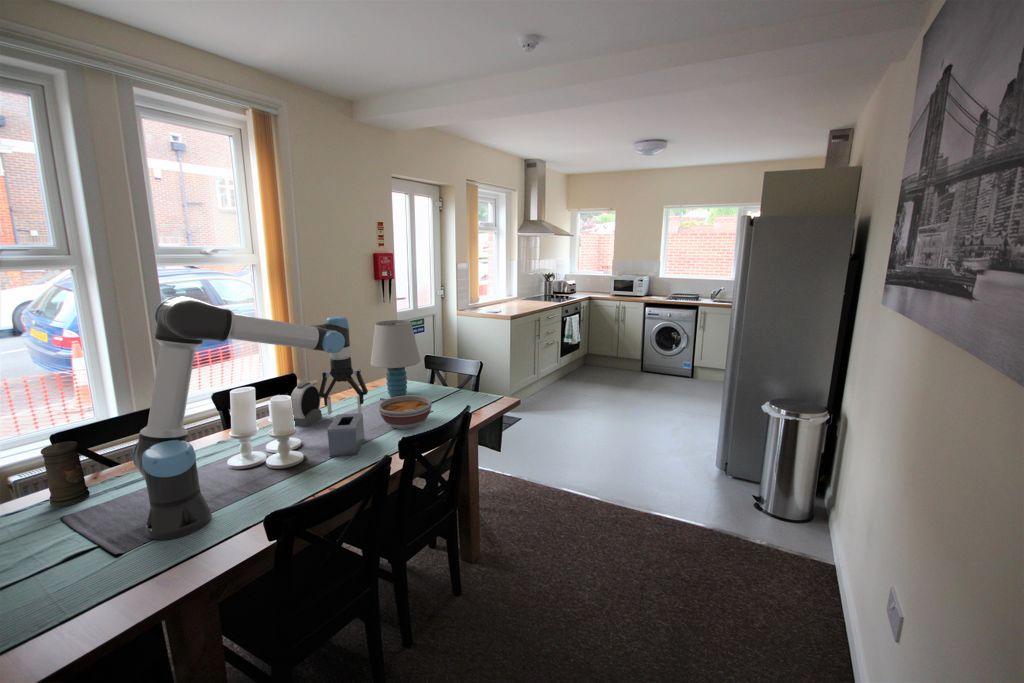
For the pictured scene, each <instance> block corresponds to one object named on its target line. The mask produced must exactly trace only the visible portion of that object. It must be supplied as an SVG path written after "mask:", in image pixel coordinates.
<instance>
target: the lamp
mask: <svg viewBox="0 0 1024 683" xmlns="http://www.w3.org/2000/svg"><path fill="white" fill-rule="evenodd" d="M374 324H375V326H374V333H373V340H372V341H373V342H372V348H371V349H372V350H371V358H370V365H371V366H372V367H374V368H380V369H386V370H387V372H386V377H385V378H386V386H387V388H386V389H387V393H388V395H389V397H390V398H393V397H398V396H407V392H408V390H407V388H408V385H407V384H408V381H407V380H408V376H407V371H406V368H407V367H412V366H416V365H418V364H420V362H421V357H420V354H419V353H420V352H419V348H418V345H417V341H416V337H415V333H414V329H413V324H412V322H411V321H410V320H407V319H406V320H404V319H393V320H382V321H377V322H375V323H374Z"/></svg>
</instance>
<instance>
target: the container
mask: <svg viewBox="0 0 1024 683" xmlns="http://www.w3.org/2000/svg"><path fill="white" fill-rule="evenodd" d="M78 451H79V443H78V442H77V441H75V440H74V441H73V440H71V441H70V440H69V441H61V442H57V443H53V444H50V445H47V446H45V447H42V448H41V450H40V454H41V455H42V458H43V460H44V463H43V464H44V467H45V473H46V477H47V481H48V491H49V493H50V496H49V498H48V499H49V500H50V501H49V504H50V506H51V507H53V508H59V507H60V508H61V507H66V506H70V505H75V504H77V503H79V502H82V501H83V500H85V499H87V498H88V497H89V496H90V494H91V492H90V491H89V487H88V486H87V485H86V478H85V477H84V472H83V468H82V463H81V458H80V454H79V452H78Z"/></svg>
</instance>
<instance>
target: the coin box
mask: <svg viewBox="0 0 1024 683" xmlns="http://www.w3.org/2000/svg"><path fill="white" fill-rule="evenodd" d="M364 427H365V426H364V415H363V412H361V413H339V414H336V415H335V417H334V418H333V420H332V421H331V423H330V424H329V426H328V428H327V430H326V431H327V439H328V451H329V458H334V457H336V458H337V457H338V458H339V457H350V456H358V454H359V452H360V450H361V447H362V445H363V443H364V441H365V430H364V429H365V428H364Z"/></svg>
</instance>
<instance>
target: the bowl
mask: <svg viewBox="0 0 1024 683" xmlns="http://www.w3.org/2000/svg"><path fill="white" fill-rule="evenodd" d="M432 405H433V404H432V400H431V399H430V398H428V397H426V396H422V395H413V394H412V395H411V394H410V395H408V394H406V395H405V396H398V397H393V398H392V397H390V398H386V399H385V400H382V401H381V402H380V403H379V404H378V411H379V414H380V416H381V418H382V419H383V421H384V422H385V423H386V424H387V425H388V426H390V427H392V428H394V429H397V430H408V429H413V428H416V427H419V426H420V425H421V424H423V423H425V421H426V420H427V418H428V417H429V416H430V413H431V410H432Z"/></svg>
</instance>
